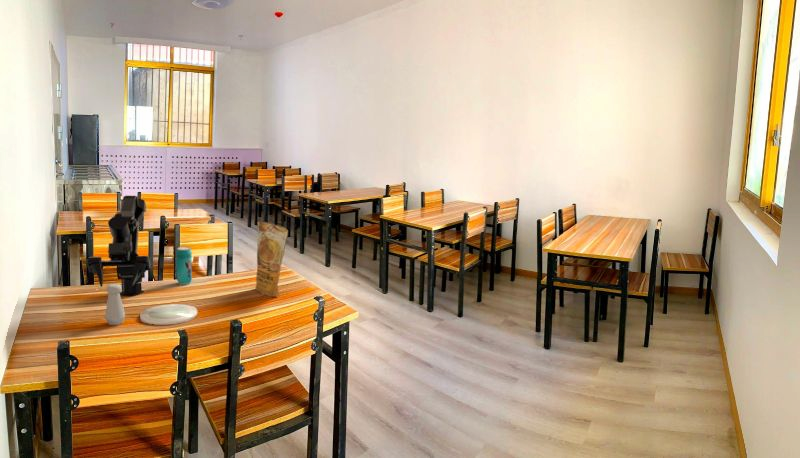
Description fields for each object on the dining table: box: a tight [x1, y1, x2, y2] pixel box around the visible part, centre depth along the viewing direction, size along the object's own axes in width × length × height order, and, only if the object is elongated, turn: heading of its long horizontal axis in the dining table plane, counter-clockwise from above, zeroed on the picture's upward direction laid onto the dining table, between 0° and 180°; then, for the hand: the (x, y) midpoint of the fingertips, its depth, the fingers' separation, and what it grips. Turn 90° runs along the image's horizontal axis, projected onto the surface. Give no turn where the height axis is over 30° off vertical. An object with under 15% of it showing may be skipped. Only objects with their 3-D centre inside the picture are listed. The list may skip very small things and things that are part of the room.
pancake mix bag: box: [255, 221, 289, 298], centre depth 211 cm, size 7×19×28 cm, turn 44°
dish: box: [139, 303, 198, 326], centre depth 181 cm, size 18×18×1 cm
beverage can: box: [176, 246, 193, 286], centre depth 218 cm, size 6×6×15 cm
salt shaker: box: [104, 283, 126, 326], centre depth 171 cm, size 6×6×13 cm
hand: (116, 285), depth 174 cm, fingers open, 9 cm apart
